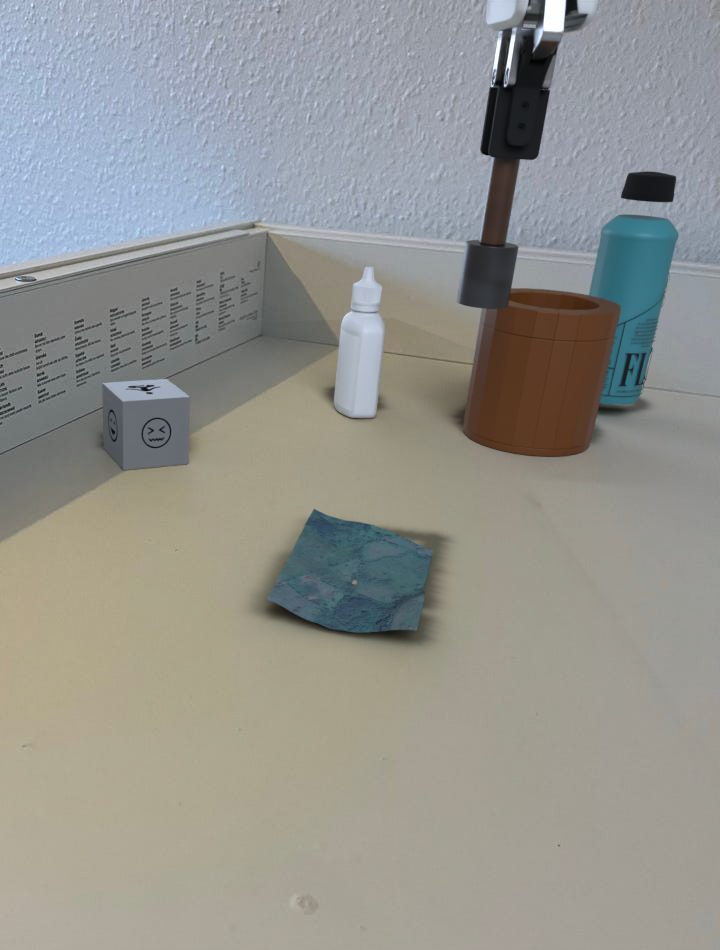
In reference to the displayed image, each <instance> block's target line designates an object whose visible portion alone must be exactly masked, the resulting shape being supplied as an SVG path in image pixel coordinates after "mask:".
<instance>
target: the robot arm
mask: <svg viewBox="0 0 720 950" xmlns="http://www.w3.org/2000/svg"><path fill="white" fill-rule="evenodd" d="M598 4H599V0H486V10H485V22H486V24H487V25H488V27H489V28H490V29H491V30H492V31H494V32H498V34H497V41H496V48H495V52H494V53H495V55H494V61H493V67H492V68H493V69H492V74H491V80H490V83H491V84H490V87H489V90H488V95H487V101H486V109H485V115H484V122H483V128H482V134H481V142H480V148H479V150H480V153H481V154H482V155H484V156H488V157H491V158H493V157H494V158H506V159H520V160H523V161H524V160H525V161H534V160H536V159H537V158H538V157H539V154H540V149H541V144H542V138H543V132H544V126H545V121H546V116H547V111H548V104H549V101H550V93H551V90H550V89H551V85H552V83H553V78H554V74H555V73H554V72H555V67H556V62H557V55H558V51H559V50H558V49H559V45H560V44H561V41H562V39H563V35H564V34H568V33H574V32H579V31H581V30H583V29H585V28H586V27H587V26H589V25H590V24H591V23H592V21H594V18H595V16H596V13H597V9H598ZM524 25H532V26H533V25H534V26H535V27H524ZM507 87H509V88H507Z"/></svg>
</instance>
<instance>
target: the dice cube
mask: <svg viewBox="0 0 720 950" xmlns="http://www.w3.org/2000/svg"><path fill="white" fill-rule="evenodd" d="M101 387H102V388H101V389H102V390H101V391H102V435H103V436H102V437H103V439H102V440H103V441H102V442H103V450H104V451H105V452H106V453H107V454H108V455H109V457H110V458H111V459H112V460H113V461H114V462H116V464H117V465H118V466H119V467H120V468H121V469H122V471H130V470H140V469H150V468H159V467H171V466H181V465H189V463H190V462H189V459H190V458H189V457H190V456H189V454H190V418H191V417H190V413H191V396H189V395H188V394H187V393H186V392H184V391H183V390H182V389H180V388H179V387H178V386H177V385H176V384H174V383H173V382H172V381H170V380H169V379H167V378H160V379H159V378H158V379H141V380H127V381H125V380H124V381H112V382H101Z"/></svg>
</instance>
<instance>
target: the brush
mask: <svg viewBox="0 0 720 950" xmlns="http://www.w3.org/2000/svg"><path fill="white" fill-rule="evenodd" d="M507 88H509V87H507ZM491 158H492V159H491V165H490V171H489V177H488V184H487V190H486V196H485V203H484V209H483V214H482V221H481V228H480V234H479V239H472V240H466V241H465V244H464V251H463V257H462V263H461V265H462V266H461V269H460V270H461V271H460V276H459V284H458V290H457V297H456V303H457V304H459V305H462V306H466V307H470V308H477V309H482V308H485V309H502V308H506V307H508V303H509V298H510V292H511V288H512V287H513V280H514V274H515V269H516V265H517V264H516V263H517V258H518V253H519V245H518V244H516V243H511V242H507V239H508V233H509V227H510V220H511V214H512V208H513V203H514V197H515V192H516V187H517V180H518V175H519V170H520V169H519V168H520V163H521V159H506V158H494V157H491Z"/></svg>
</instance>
